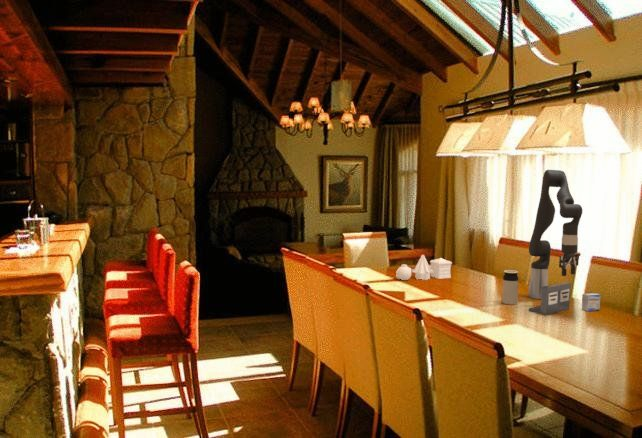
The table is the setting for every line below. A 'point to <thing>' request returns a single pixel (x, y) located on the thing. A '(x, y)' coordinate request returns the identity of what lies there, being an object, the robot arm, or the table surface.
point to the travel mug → (510, 287)
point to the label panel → (553, 299)
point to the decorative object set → (426, 269)
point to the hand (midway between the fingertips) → (568, 275)
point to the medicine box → (591, 302)
